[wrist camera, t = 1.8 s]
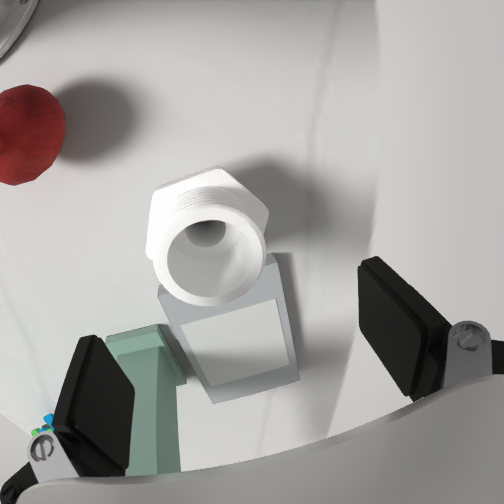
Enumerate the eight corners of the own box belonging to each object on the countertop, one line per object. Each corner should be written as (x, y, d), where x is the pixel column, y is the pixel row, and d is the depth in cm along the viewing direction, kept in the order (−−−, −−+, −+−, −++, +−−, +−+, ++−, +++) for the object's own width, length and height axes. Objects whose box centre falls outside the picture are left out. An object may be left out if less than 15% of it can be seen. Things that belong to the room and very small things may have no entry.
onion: (1, 141, 15) (-68, 166, 8) (41, 72, 14) (-26, 64, 7) (53, 184, 18) (-5, 227, 11) (98, 115, 17) (46, 123, 10)
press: (84, 306, 22) (27, 556, 5) (272, 253, 24) (415, 525, 6) (151, 405, 29) (161, 584, 11) (295, 369, 30) (369, 548, 12)
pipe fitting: (150, 247, 21) (136, 316, 14) (165, 147, 19) (150, 171, 12) (236, 258, 23) (258, 327, 16) (259, 164, 20) (298, 197, 13)
